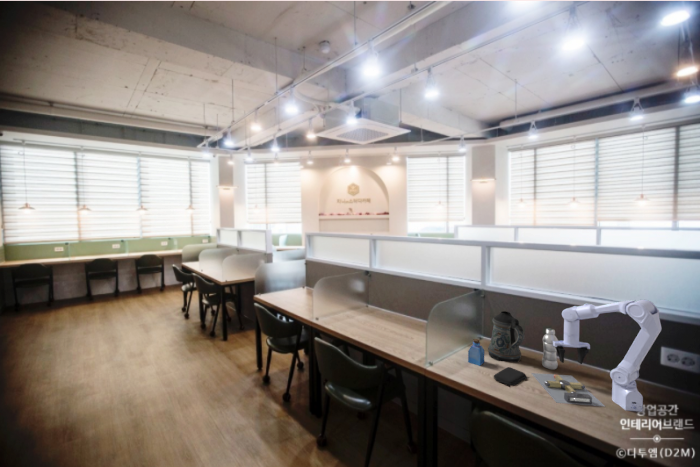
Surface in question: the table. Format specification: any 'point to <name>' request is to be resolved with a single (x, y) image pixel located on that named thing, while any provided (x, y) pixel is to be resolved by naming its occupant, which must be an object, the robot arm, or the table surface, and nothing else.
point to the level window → (578, 398)
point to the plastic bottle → (549, 350)
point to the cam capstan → (564, 384)
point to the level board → (559, 393)
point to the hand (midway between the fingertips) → (570, 362)
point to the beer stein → (506, 338)
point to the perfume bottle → (476, 353)
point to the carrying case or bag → (510, 376)
